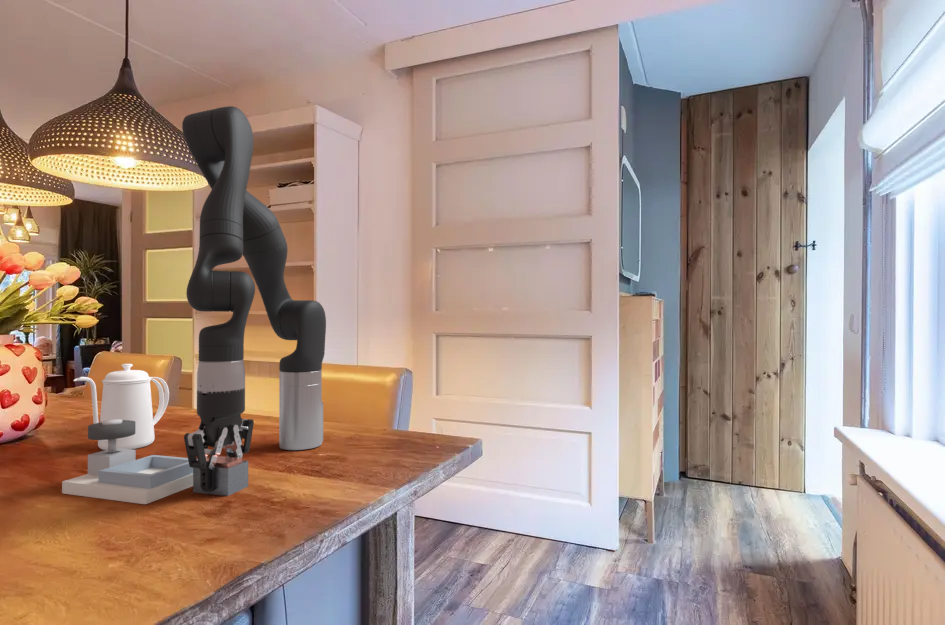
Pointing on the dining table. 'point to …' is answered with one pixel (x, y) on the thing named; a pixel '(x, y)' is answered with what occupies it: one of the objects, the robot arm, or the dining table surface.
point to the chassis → (131, 477)
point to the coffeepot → (129, 404)
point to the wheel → (111, 431)
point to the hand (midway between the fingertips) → (220, 485)
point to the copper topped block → (225, 476)
